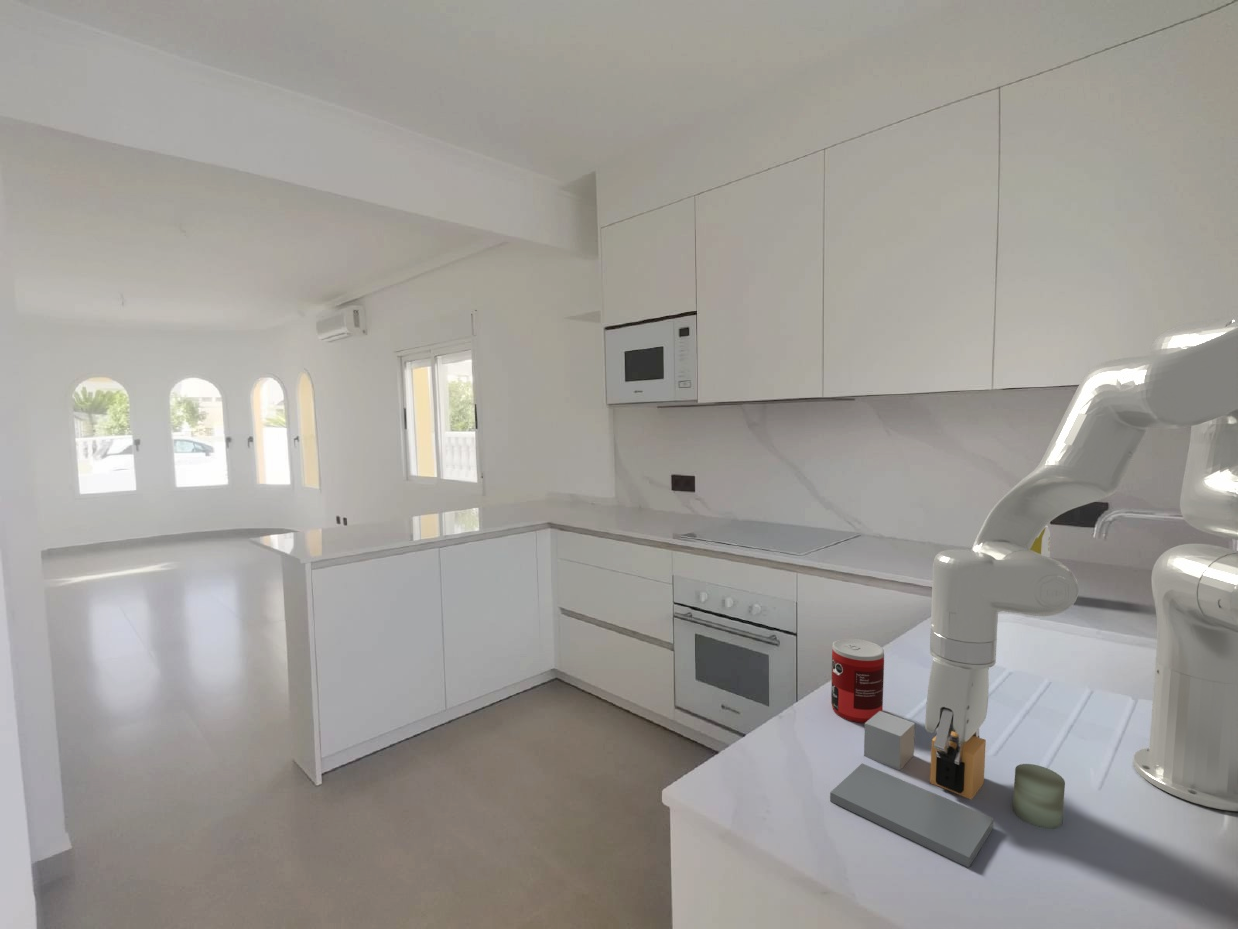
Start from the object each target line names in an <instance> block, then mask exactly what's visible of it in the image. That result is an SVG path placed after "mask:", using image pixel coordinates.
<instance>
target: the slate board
mask: <svg viewBox="0 0 1238 929" xmlns="http://www.w3.org/2000/svg"><path fill="white" fill-rule="evenodd" d="M829 793H830V794H829V795H830V796H829V799H830V800H829V801H830V802H831V803H832V804H835V805H836V806H837V805H838V806H839V807H840V808H843V809H845V810H847V811H849V812H852V813H853V814H855V815H857V816H860V817H863V818H864V819H866V820H868V821H870V822H872V823H875V824H876V825H878V826H881V827H883V828H885V829H887V830H889V831H891V832H893V833H895V834H897V835H899V836H902V837H904V838H906V839H908V840H910V841H912V842H914V843H916V844H918V845H921V846H923V847H925V848H926V849H929V850H930V851H933V852H935V853H936V854H939V855H941V856H943V857H945V858H947V859H950V860H951V861H954V862H955V863H958V864H960V865H962V866H964V867H966V868H968V869H969V868H970V866H971V865H972V863H973V862H974V860H975V858H976V857H977V855H978V854H979V851H980V850H981V849H982V847H983V846H984V844H985V842H986V840H987V839H988V837H989V836H990V834H991V833H992V831H993V830H994V828H995V827H994V826H995V825H994V823H995V817H992V816H989V815H988V814H984V813H983V812H979V811H977V810H975V809H973V808H970V807H967V806H965V805H963V804H961V803H958V802H956V801H953V800H951V799H949V798H946V797H944V796H942V795H938V794H936V793H934V792H932V791H929V790H928V789H924V788H922V787H920V786H918V785H915V784H913V783H911V782H907V781H906V780H903V779H900V778H899V777H895V776H893V775H891V774H889V773H886V772H884V771H882V770H879V769H877V768H874V767H872V766H869V765H867V764H864V763H861V764H859V765H858V766H857V767H856V768H855V769H854V770H853V771H852V772H851V773H849V775H848V776H846V777H845V778H844V779H843V780H842V781H841V782H840V783H839V784H838V785H836V787H834V788H833V789H832V790H831V791H830V792H829Z"/></svg>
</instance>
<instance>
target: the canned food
mask: <svg viewBox="0 0 1238 929" xmlns="http://www.w3.org/2000/svg"><path fill="white" fill-rule="evenodd" d="M884 672H885V651H884V649H883V647H882V646H880V645H879V644H877V643H874V642H873V641H869V640H865V639H861V638H860V639H858V638H840V639H837V640H835V641H833V642H832V648H831V688H830V689H831V690H830V691H831V694H830V698H831V699H830V702H831V708H832V710H833V712H834V713H835V714H836V715H838V716H839V717H841V718H843V719H845V720H846V721H850V722H855V723H861V724H862V723H863V724H865V723H866V722H867V721H868V720H869V719H870V718H872V717H873V716H874V715H875V714H877V713H878V712H879V711H882V712H883V711H884V710H883V707H884V706H883V705H884V704H883V703H884V676H885V673H884Z"/></svg>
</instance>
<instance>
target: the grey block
mask: <svg viewBox="0 0 1238 929" xmlns="http://www.w3.org/2000/svg"><path fill="white" fill-rule="evenodd" d="M915 725H916V724H915V722H913V721H909V720H908V719H904V718H902V717H900V716H895V715H892V714H890V713H887V712H884V711H883V710H882V711H879V712H878V713H877V714H875V715H874V716H873V717H872V718H870V719H869V720H868V721H867V722H866V723H864V734H863V735H864V739H863V740H864V741H863V744H864V745H863V756H864V757H866V758H868V759H871V760H873V761H876V762H878V763H881V764H883V765H885V766H888V767H891V768H892V769H895V770H897V771H900V770H902V769H903V767H904V766H905V765H906V764H908V762H909V761H910V760H911V759H913V757H914V755H915V733H916V732H915V731H916V730H915Z"/></svg>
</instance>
